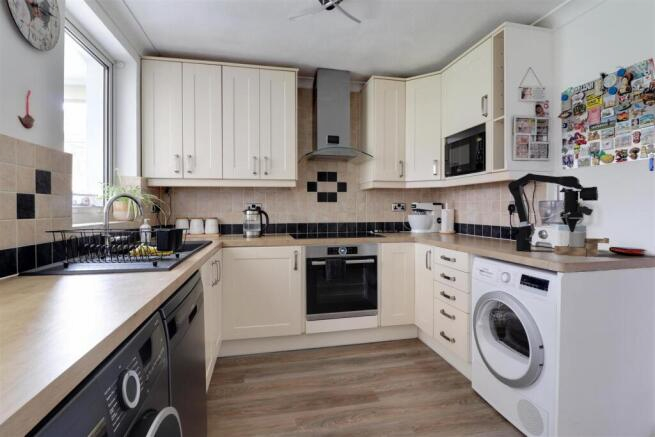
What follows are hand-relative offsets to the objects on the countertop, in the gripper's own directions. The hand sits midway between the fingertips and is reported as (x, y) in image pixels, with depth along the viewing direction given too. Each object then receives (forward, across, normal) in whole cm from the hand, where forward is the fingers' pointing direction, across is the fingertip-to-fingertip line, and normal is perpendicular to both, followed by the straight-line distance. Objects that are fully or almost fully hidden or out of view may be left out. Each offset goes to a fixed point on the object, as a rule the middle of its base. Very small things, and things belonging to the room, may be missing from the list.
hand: (570, 231), depth 159 cm
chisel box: (+12, 0, -2) cm, 12 cm away
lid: (-1, 0, 0) cm, 1 cm away
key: (+5, 0, -11) cm, 12 cm away
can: (+12, +20, -7) cm, 24 cm away
